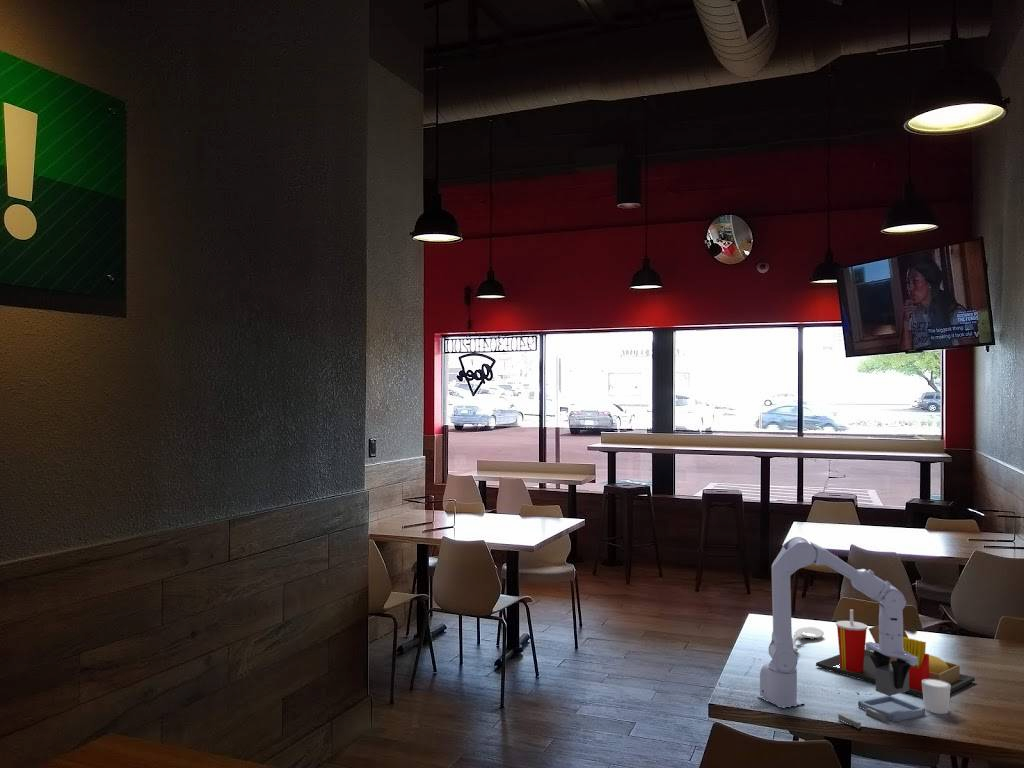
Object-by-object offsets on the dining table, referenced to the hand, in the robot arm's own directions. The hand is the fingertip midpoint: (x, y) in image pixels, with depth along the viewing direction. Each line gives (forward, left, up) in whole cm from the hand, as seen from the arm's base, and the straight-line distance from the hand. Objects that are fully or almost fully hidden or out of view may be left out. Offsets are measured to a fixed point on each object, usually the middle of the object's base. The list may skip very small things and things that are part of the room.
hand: (891, 685), depth 205 cm
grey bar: (0, 0, -2) cm, 2 cm away
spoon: (-54, +22, -7) cm, 59 cm away
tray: (0, 0, -7) cm, 7 cm away
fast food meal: (-20, +25, -7) cm, 33 cm away
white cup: (+4, +12, -7) cm, 14 cm away
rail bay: (+2, -13, -7) cm, 14 cm away
